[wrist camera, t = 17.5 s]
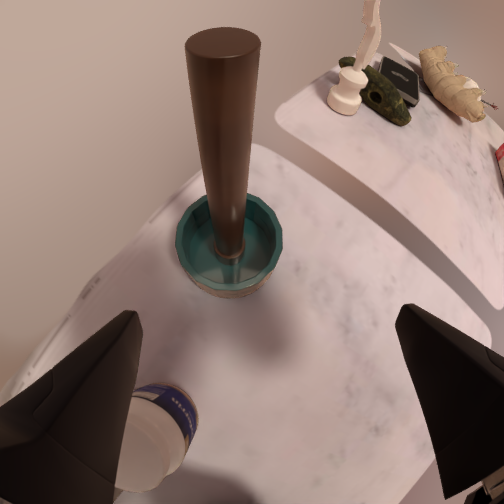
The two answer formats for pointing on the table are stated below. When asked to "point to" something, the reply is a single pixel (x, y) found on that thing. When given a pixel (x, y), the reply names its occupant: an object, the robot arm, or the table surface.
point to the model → (450, 85)
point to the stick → (224, 126)
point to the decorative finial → (357, 65)
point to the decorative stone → (381, 94)
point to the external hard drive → (401, 80)
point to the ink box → (501, 159)
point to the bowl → (203, 254)
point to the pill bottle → (155, 436)
